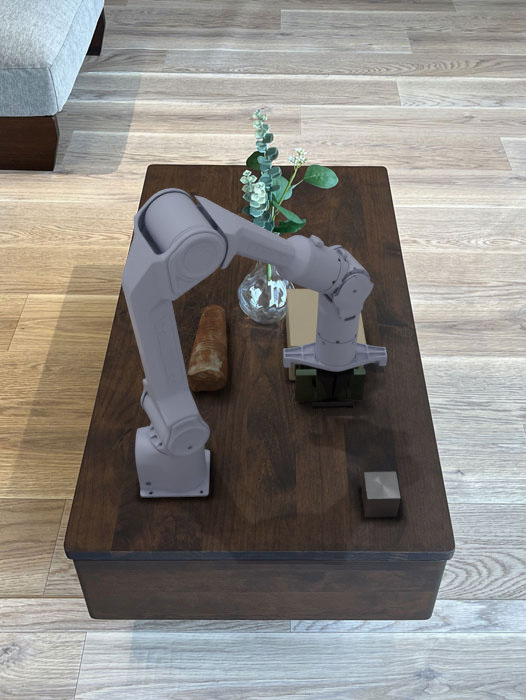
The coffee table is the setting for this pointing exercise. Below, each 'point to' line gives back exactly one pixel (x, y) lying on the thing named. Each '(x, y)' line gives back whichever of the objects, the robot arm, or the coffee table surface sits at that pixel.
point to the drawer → (315, 392)
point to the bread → (209, 352)
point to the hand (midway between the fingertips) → (331, 396)
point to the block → (380, 494)
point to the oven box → (306, 321)
